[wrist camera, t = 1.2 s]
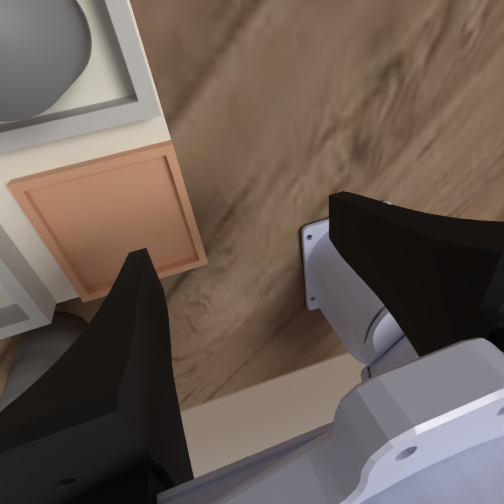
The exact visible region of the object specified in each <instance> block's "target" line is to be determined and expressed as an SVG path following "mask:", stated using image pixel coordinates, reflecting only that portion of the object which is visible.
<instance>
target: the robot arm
mask: <svg viewBox="0 0 504 504" xmlns="http://www.w3.org/2000/svg"><path fill="white" fill-rule="evenodd" d="M301 233H302V247H303V261H304V274H305V288H306V302H307V307H308V309H309V310H314V309H317V308H319V309H320V310H321V312H322V313H323V314H324V316H325V317H326V319H327V320H328V322H329V323H330V325H331V326H332V328H333V329H334V331H335V332H336V334H337V335H338V337H339V338H340V340H341V341H342V343H343V344H344V346H345V347H346V348H347V350H348V351H349V353H350V354H351V355H352V356H353V357H355V358H356V359H357V360H358V361H360V362H362V363H364V364H366V365H367V366H366V367H364V368H363V370H362V372H361V379H362V383H360V384H358V385H356V386H355V387H354V388H353V389H352V390H351V391H349V392H348V394H346V395H345V396H344V397H343V398H342V399H341V401H340V403H339V405H338V408H337V410H336V412H335V416H334V422H331V423H329V424H326V425H324V426H321V427H319V428H317V429H314V430H312V431H309V432H307V433H304V434H302V435H300V436H297V437H295V438H292V439H290V440H288V441H285V442H283V443H280V444H278V445H275V446H273V447H271V448H268V449H266V450H263V451H261V452H258V453H256V454H253V455H251V456H249V457H246V458H244V459H242V460H239V461H237V462H234V463H232V464H229V465H227V466H224V467H222V468H219V469H217V470H215V471H212V472H210V473H207V474H205V475H203V476H200V477H198V478H195V479H194V476H193V472H192V467H191V462H190V458H189V453H188V448H187V443H186V439H185V434H184V429H183V424H182V419H181V414H180V409H179V404H178V398H177V393H176V387H175V382H174V377H173V369H172V358H171V344H170V330H169V317H168V309H167V304H166V299H165V295H164V290H163V287H162V285H161V282H160V280H159V278H158V275H157V273H156V270H155V268H154V265H153V263H152V260H151V258H150V256H149V253H148V251H147V248H143V249H140V250H136V251H133V252H129V254H128V255H127V257H126V259H125V261H124V264H123V266H122V268H121V270H120V272H119V274H118V276H117V278H116V280H115V282H114V284H113V286H112V288H111V290H110V291H109V293H108V295H107V297H106V298H105V300H104V302H103V303H102V305H101V307H100V308H99V310H98V311H97V313H96V314H95V316H94V317H93V319H92V320H91V321H90V323H89V324H88V325H87V327H86V328H85V329H84V331H83V332H82V333H81V334H80V336H79V337H78V338H77V339H76V340H75V341H74V342H73V344H72V345H71V346H70V347H69V348H68V349H67V350H66V351H65V353H64V354H63V355H62V356H61V357H60V358H59V359H58V360H57V361H56V362H55V363H54V364H53V365H52V366H51V367H50V368H49V369H48V370H47V371H46V372H45V373H44V374H43V375H42V376H41V377H40V378H39V379H38V380H37V381H36V382H35V383H33V384H32V385H31V386H30V387H29V388H28V389H27V390H26V391H24V392H23V393H22V394H21V395H20V396H18V397H17V398H16V399H15V400H14V401H12V402H11V403H10V404H9V405H8V406H7V407H5V408H4V409H3V410H2V411H1V412H0V504H504V222H497V221H481V220H471V219H461V218H453V217H446V216H441V215H435V214H429V213H424V212H419V211H415V210H411V209H407V208H403V207H399V206H395V205H392V204H391V203H390V202H389V201H383V202H381V201H378V200H375V199H371V198H368V197H364V196H361V195H357V194H354V193H349V192H344V191H342V192H339V193H335V194H332V195H329V218H328V219H325V220H322V221H319V222H315V223H312V224H309V225H306V226H304V227H303V229H302V232H301ZM308 235H310V236H309V237H308V238H307V236H308Z"/></svg>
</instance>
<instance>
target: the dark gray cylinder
mask: <svg viewBox="0 0 504 504" xmlns="http://www.w3.org/2000/svg"><path fill="white" fill-rule="evenodd" d="M87 325H88V324H87V322H86V321H85V320H84V319H82V318H81V317H79V316H77V315H75V314H72V313H68V312H54V314H53V318H52V322H51V324H48V325H45V326H41V327H38V328H35V329H32V330H29V331H26V332H23V334H22V337H21V340H20V343H19V346H18V349H17V352H16V355H15V358H14V361H13V364H12V367H11V369H10V372H9V375H8V378H7V381H6V384H5V387H4V390H3V393H2V396H1V399H0V412H1V411H2V410H3V409H4V408H5V407H7V406H8V405H9V404H10V403H11V402H12V401H14V400H15V399H16V398H17V397H18V396H20V395H21V394H22V393H23V392H24V391H26V390H27V389H28V388H29V387H30V386H31V385H32V384H33V383H35V382H36V381H37V380H38V379H39V378H40V377H41V376H42V375H43V374H44V373H45V372H46V371H47V370H48V369H49V368H50V367H51V366H52V365H53V364H54V363H55V362H56V361H57V360H58V359H59V358H60V357H61V356H62V355H63V354H64V353H65V351H66V350H67V349H68V348H69V347H70V346H71V345H72V344H73V342H74V341H75V340H76V339H77V338H78V337H79V336H80V334H81V333H82V332H83V331H84V329H85V328H86V327H87Z"/></svg>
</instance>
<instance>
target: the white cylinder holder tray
mask: <svg viewBox="0 0 504 504" xmlns="http://www.w3.org/2000/svg"><path fill="white" fill-rule="evenodd" d="M143 248H147V251H148V253H149V256H150V258H151V260H152V263H153V265H154V268H155V270H156V273H157V275H158V278H159V279H162V278H165V277H168V276H171V275H174V274H178V273H181V272H184V271H187V270H190V269H194V268H197V267H200V266H203V265H206V264H208V261H207V258H206V254H205V251H204V248H203V244H202V241H201V238H200V234H199V231H198V228H197V224H196V221H195V218H194V214H193V211H192V207H191V204H190V201H189V197H188V194H187V191H186V187H185V184H184V181H183V177H182V174H181V171H180V167H179V164H178V160H177V157H176V154H175V150H174V147H173V144H172V141H171V138H170V135H169V131H168V128H167V125H166V121H165V118H164V115H163V111H162V108H161V105H160V101H159V98H158V95H157V91H156V88H155V85H154V81H153V78H152V75H151V71H150V68H149V65H148V61H147V58H146V54H145V51H144V48H143V44H142V41H141V38H140V34H139V31H138V28H137V24H136V21H135V18H134V14H133V11H132V8H131V4H130V1H129V0H0V339H4V338H7V337H10V336H13V335H16V334H19V333H23V332H26V331H29V330H32V329H35V328H38V327H41V326H45V325H48V324H51V322H52V318H53V314H54V310H55V306H56V304H57V303H60V302H64V301H67V300H70V299H73V298H77V297H80V298H81V300H82V301H83V303H85V302H88V301H91V300H94V299H98V298H101V297H104V296H107V295H108V293H109V291H110V290H111V288H112V286H113V284H114V282H115V280H116V278H117V276H118V274H119V272H120V270H121V268H122V266H123V264H124V261H125V259H126V257H127V255H128V254H129V252H133V251H136V250H140V249H143Z"/></svg>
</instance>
